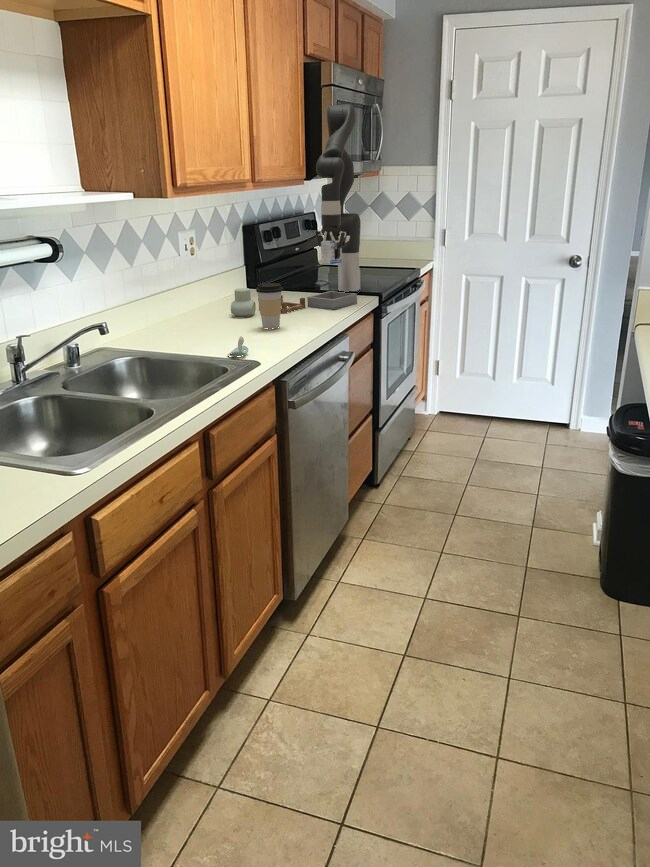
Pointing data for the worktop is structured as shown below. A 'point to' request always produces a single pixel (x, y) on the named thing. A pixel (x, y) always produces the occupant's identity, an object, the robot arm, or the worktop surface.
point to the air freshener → (243, 303)
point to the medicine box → (329, 253)
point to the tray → (332, 300)
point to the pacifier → (239, 348)
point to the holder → (291, 305)
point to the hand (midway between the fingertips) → (331, 258)
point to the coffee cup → (270, 304)
